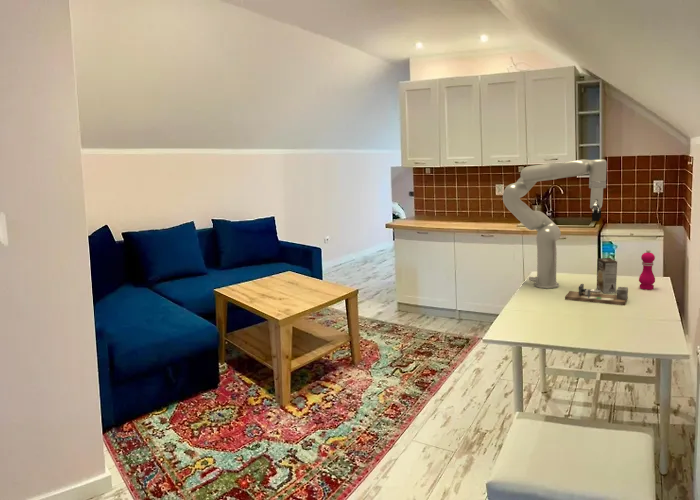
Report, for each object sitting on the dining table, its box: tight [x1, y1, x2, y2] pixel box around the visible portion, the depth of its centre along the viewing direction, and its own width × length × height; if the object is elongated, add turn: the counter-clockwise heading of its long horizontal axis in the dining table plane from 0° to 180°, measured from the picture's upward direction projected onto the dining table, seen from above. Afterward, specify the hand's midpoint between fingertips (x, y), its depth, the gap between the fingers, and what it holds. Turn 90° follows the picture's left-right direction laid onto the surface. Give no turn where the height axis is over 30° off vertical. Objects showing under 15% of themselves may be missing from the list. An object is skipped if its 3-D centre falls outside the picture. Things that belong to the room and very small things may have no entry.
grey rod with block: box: [578, 283, 602, 295], centre depth 263 cm, size 9×8×4 cm
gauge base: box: [564, 286, 629, 306], centre depth 261 cm, size 26×11×6 cm, turn 57°
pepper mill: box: [638, 248, 656, 291], centre depth 273 cm, size 7×7×20 cm
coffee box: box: [596, 257, 618, 294], centre depth 273 cm, size 9×6×16 cm
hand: (596, 219), depth 270 cm, fingers open, 9 cm apart
